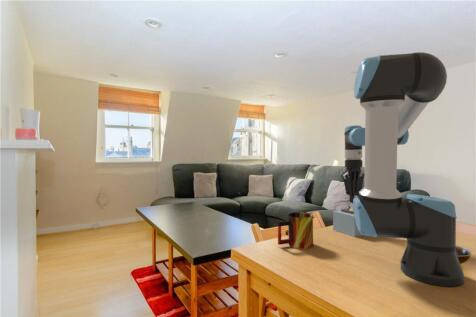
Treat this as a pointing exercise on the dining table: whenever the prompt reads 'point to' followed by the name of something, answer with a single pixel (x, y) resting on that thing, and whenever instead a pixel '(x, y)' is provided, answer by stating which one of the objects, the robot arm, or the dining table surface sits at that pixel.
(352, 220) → the socket block
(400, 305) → the dining table surface
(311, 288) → the dining table surface
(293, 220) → the mug
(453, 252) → the robot arm
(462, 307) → the dining table surface
